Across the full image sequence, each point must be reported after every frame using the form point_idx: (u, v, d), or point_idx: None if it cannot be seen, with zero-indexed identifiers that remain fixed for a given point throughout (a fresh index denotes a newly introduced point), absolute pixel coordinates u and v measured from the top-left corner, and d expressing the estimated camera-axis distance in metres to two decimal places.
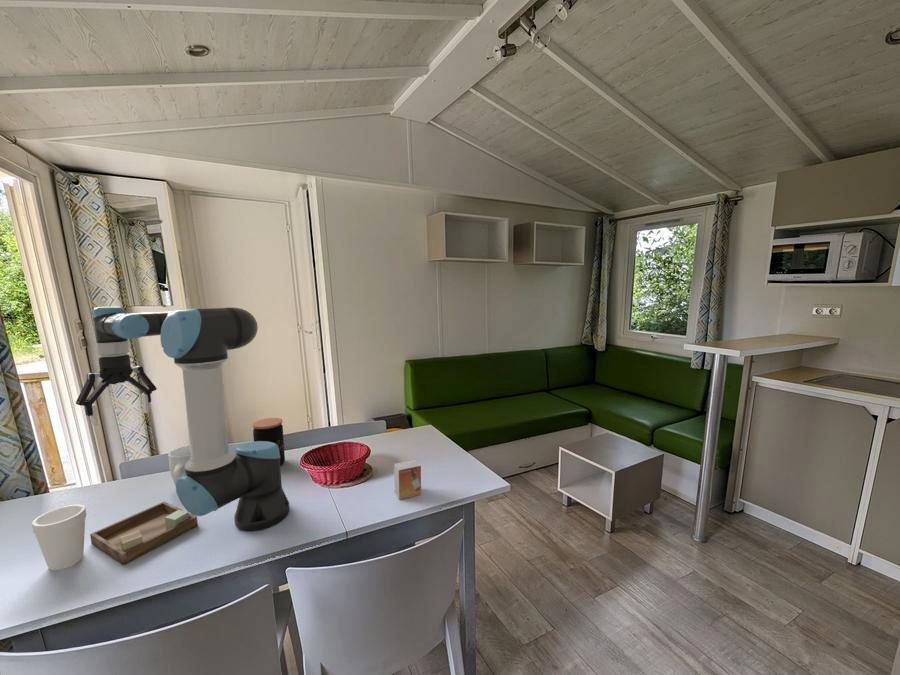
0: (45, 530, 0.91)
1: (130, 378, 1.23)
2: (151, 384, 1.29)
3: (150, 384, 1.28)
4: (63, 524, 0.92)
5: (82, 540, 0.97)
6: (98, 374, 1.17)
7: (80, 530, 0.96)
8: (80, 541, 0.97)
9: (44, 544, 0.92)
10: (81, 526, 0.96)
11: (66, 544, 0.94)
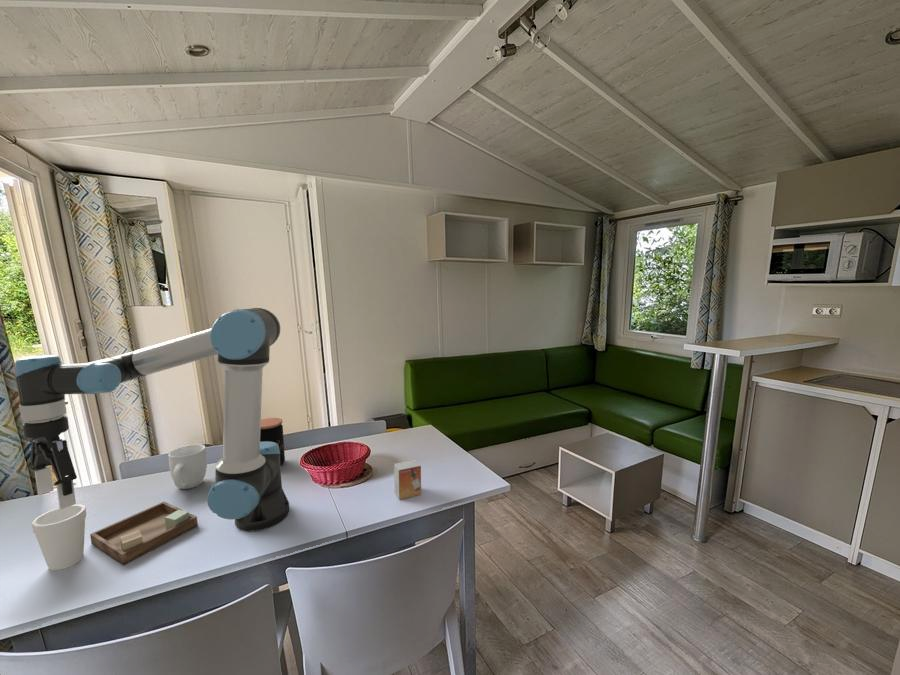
0: (45, 530, 0.91)
1: (44, 455, 0.90)
2: (59, 473, 0.88)
3: (58, 472, 0.88)
4: (63, 524, 0.92)
5: (82, 540, 0.97)
6: None
7: (80, 530, 0.96)
8: (80, 541, 0.97)
9: (44, 544, 0.92)
10: (81, 526, 0.96)
11: (66, 544, 0.94)
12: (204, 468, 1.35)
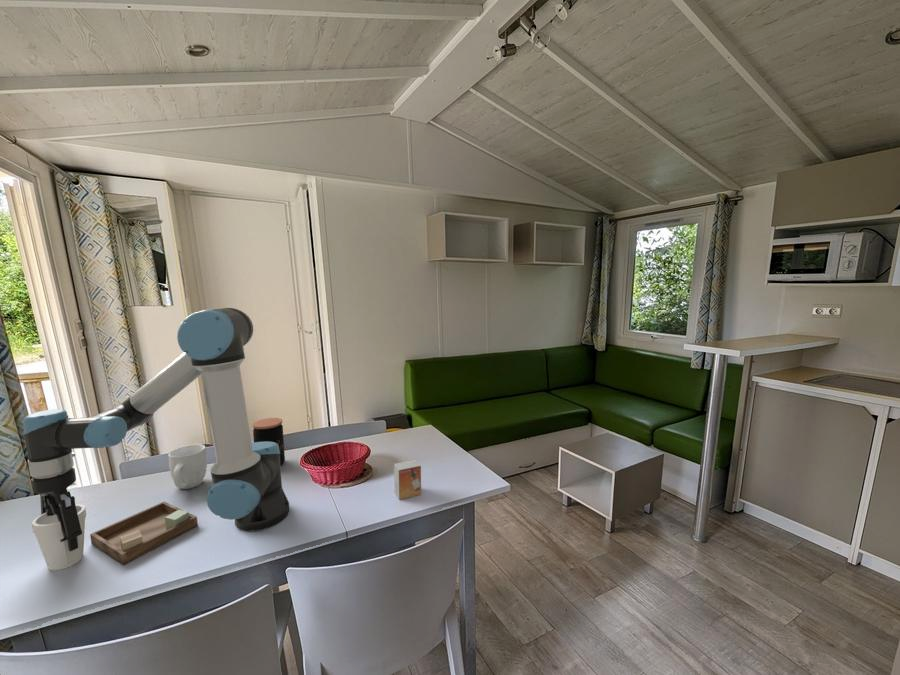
0: (45, 530, 0.91)
1: (52, 509, 0.92)
2: (66, 529, 0.91)
3: (65, 529, 0.91)
4: None
5: (82, 540, 0.97)
6: None
7: None
8: (80, 541, 0.97)
9: (44, 544, 0.92)
10: (81, 526, 0.96)
11: None
12: (204, 468, 1.35)
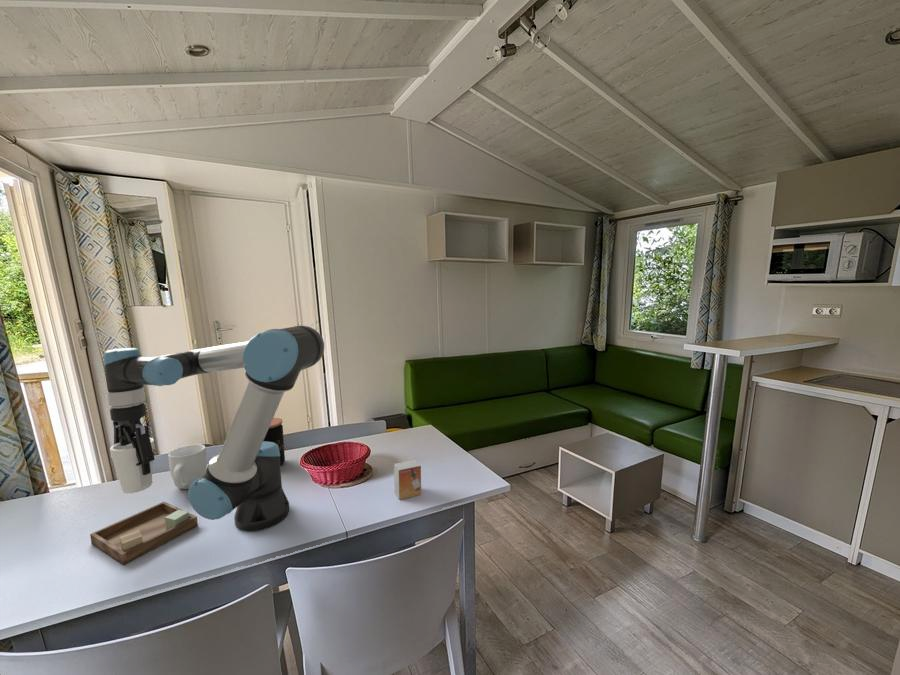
0: (123, 454, 1.00)
1: (128, 437, 1.02)
2: (141, 454, 1.00)
3: (140, 454, 1.00)
4: None
5: (151, 468, 1.07)
6: None
7: None
8: None
9: (121, 468, 1.01)
10: None
11: None
12: (204, 468, 1.35)
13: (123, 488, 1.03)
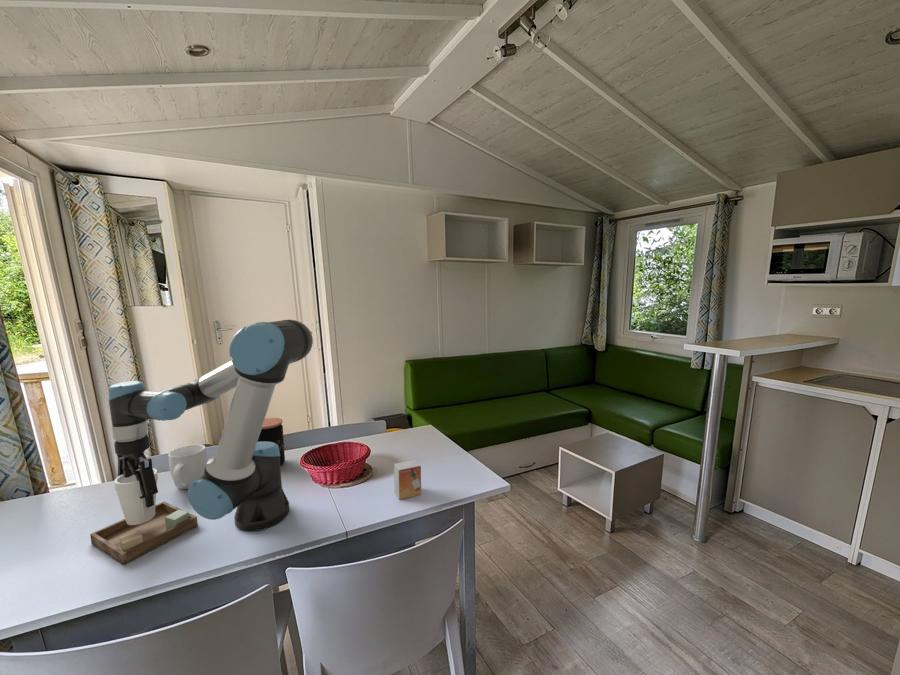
0: (126, 488, 1.01)
1: (132, 470, 1.03)
2: (145, 488, 1.02)
3: (144, 487, 1.02)
4: None
5: (155, 499, 1.08)
6: None
7: None
8: None
9: (125, 501, 1.02)
10: None
11: None
12: (204, 468, 1.35)
13: (127, 520, 1.04)
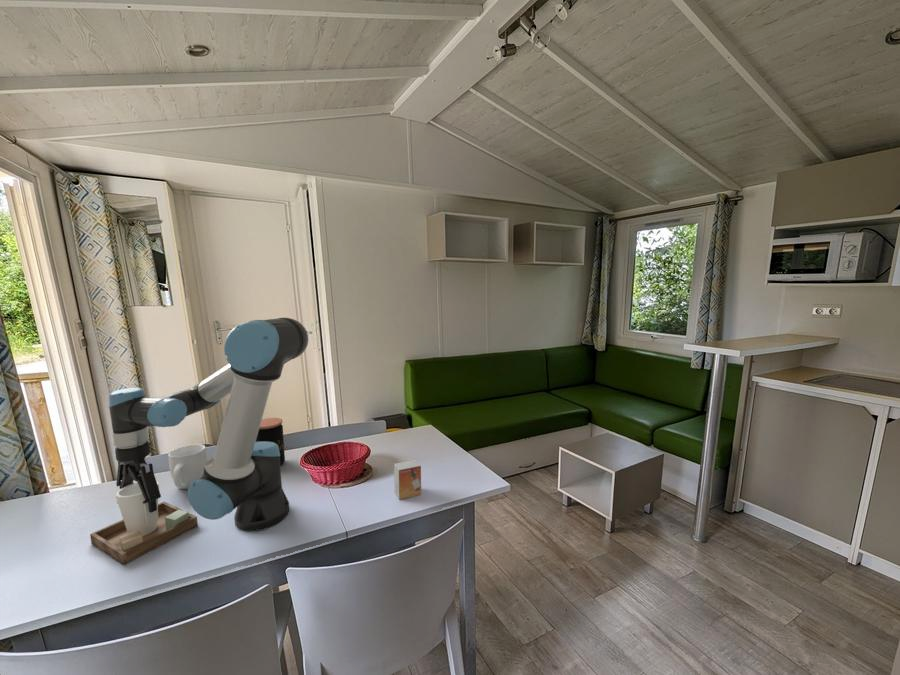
0: (128, 501, 1.02)
1: (133, 476, 1.03)
2: (147, 492, 1.01)
3: (147, 492, 1.01)
4: (143, 496, 1.04)
5: None
6: None
7: None
8: None
9: (127, 513, 1.03)
10: None
11: None
12: None
13: (129, 533, 1.05)
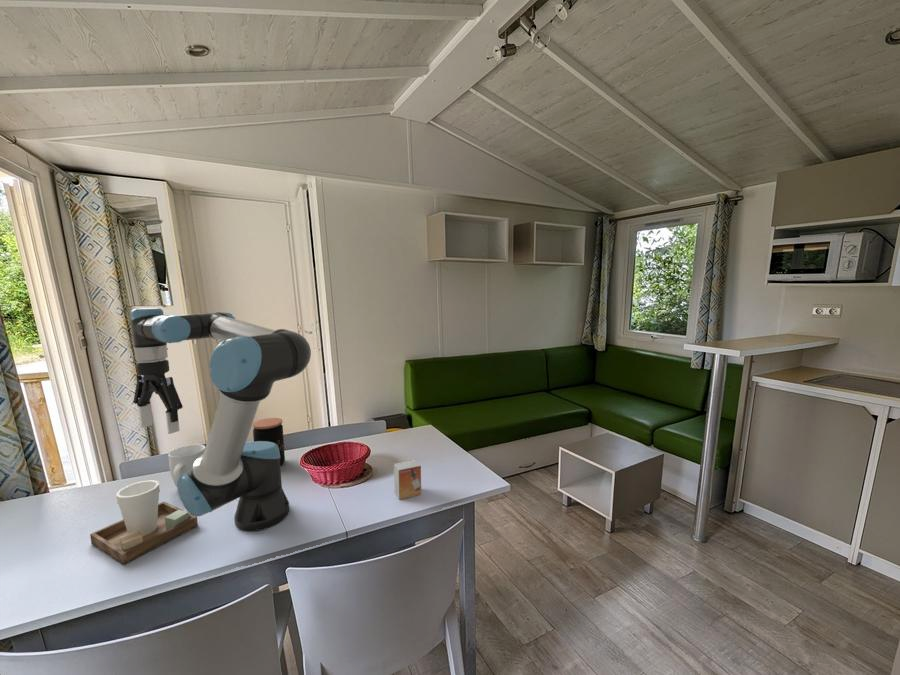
0: (129, 501, 1.02)
1: (154, 389, 1.09)
2: (170, 402, 1.08)
3: (169, 402, 1.08)
4: (143, 496, 1.04)
5: (157, 512, 1.09)
6: None
7: (155, 503, 1.07)
8: (155, 512, 1.08)
9: (127, 514, 1.03)
10: (156, 499, 1.08)
11: (145, 514, 1.05)
12: None
13: (129, 533, 1.05)
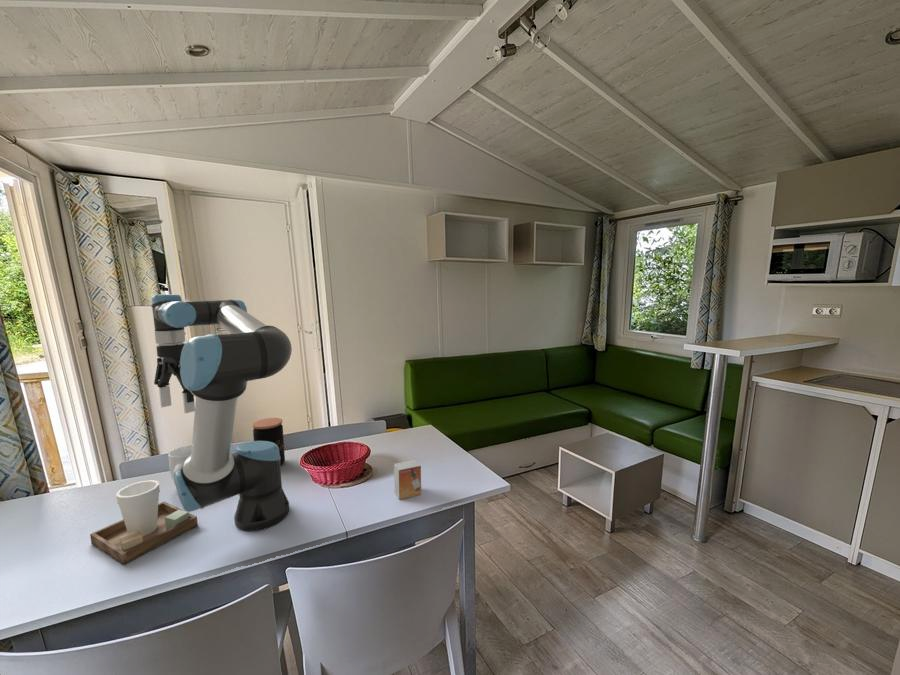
0: (129, 501, 1.02)
1: (172, 371, 1.16)
2: None
3: None
4: (143, 496, 1.04)
5: (157, 512, 1.09)
6: None
7: (155, 503, 1.07)
8: (155, 512, 1.08)
9: (127, 514, 1.03)
10: (156, 499, 1.08)
11: (145, 514, 1.05)
12: None
13: (129, 533, 1.05)
